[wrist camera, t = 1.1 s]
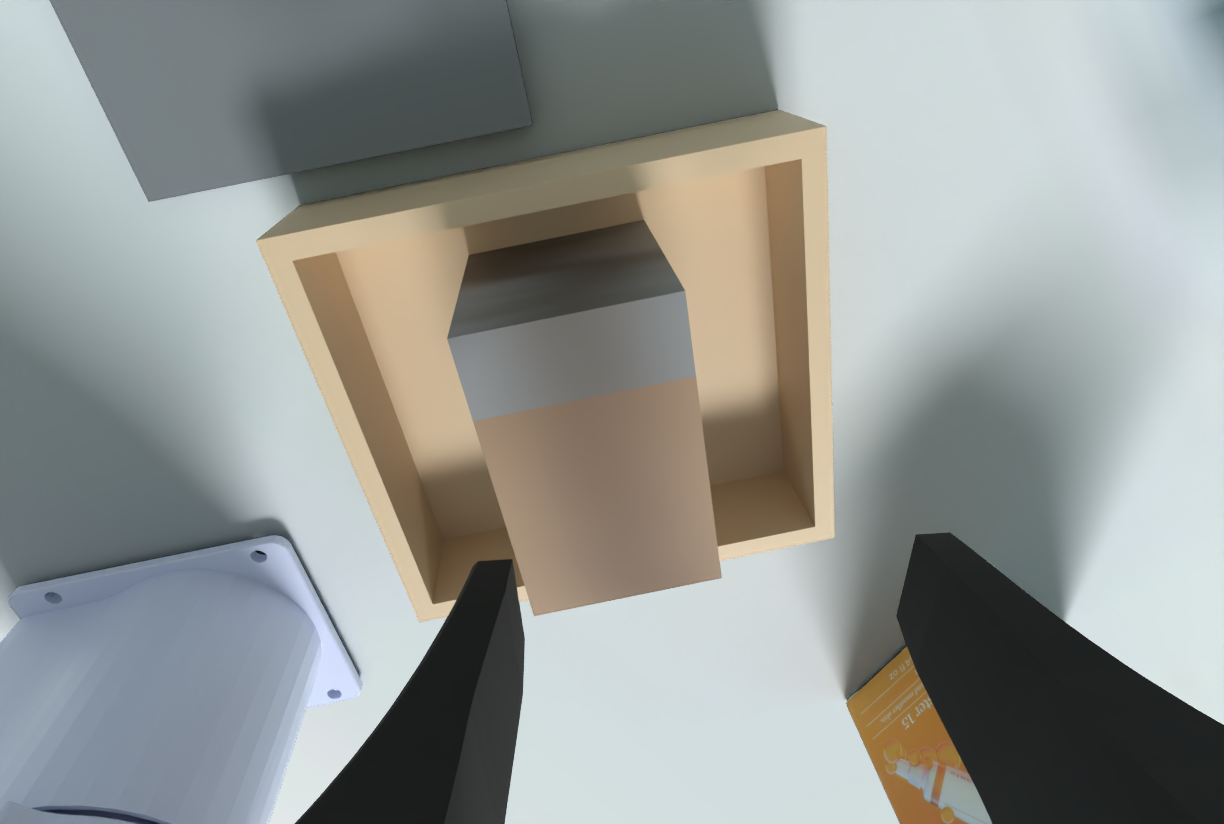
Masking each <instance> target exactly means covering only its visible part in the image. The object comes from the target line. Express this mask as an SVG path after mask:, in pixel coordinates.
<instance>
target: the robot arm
mask: <svg viewBox="0 0 1224 824" xmlns="http://www.w3.org/2000/svg"><path fill="white" fill-rule="evenodd" d="M255 550H257V551H262V552H264V553H265V554H266V555H261V554H258V553H257V552H256V551H255ZM55 593H57V594H59V595H57V594H55ZM8 603H9V605H10V607H11V608H12V609H13V610H14V612H15V613H16V614H17V615H18V617H19V618H20V620H19V622H18V623H17V624H16V625H15V626H14V627H13V629H12V630H11V631H10V632H9V633H8V634H7V636H6V637H5V638H4V639H3V640H2V641H1V643H0V824H269V822H270V819H271V816H272V813H273V810H274V806H275V803H276V800H277V797H278V794H279V791H280V788H281V785H282V782H283V779H284V776H285V773H286V770H287V766H288V763H289V760H290V757H291V754H292V751H293V748H294V745H295V742H296V739H297V736H298V733H299V730H300V726H301V723H302V720H303V717H304V714H305V711H306V708H310V707H315V706H320V705H325V704H330V703H335V702H340V701H344V700H349V699H353V698H356V697H357V696H359V695H360V692H361V689H362V681H361V679H360V677H359V675H358V673H357V671H356V669H355V667H354V665H353V663H352V661H351V659H350V658H349V656H348V654H347V652H346V650H345V648H344V646H343V644H342V642H341V640H340V638H339V636H338V634H337V632H336V630H335V628H334V626H333V625H332V623H331V621H330V619H329V617H328V615H327V613H326V611H325V609H324V607H323V605H322V603H321V601H320V599H319V597H318V595H317V593H316V592H315V590H314V588H313V586H312V584H311V582H310V580H309V578H308V576H307V574H306V572H305V570H304V568H303V566H302V564H301V562H300V560H299V559H298V557H297V555H296V553H295V551H294V549H293V547H292V545H291V543H290V542H289V541H288V540H287V539H285V538H284V537H281V536H277V535H272V536H266V537H261V538H256V539H251V540H246V541H241V542H236V543H231V544H226V545H221V546H217V547H212V548H207V549H202V550H197V551H192V552H187V553H182V554H177V555H172V556H167V557H162V558H157V559H152V560H147V561H142V562H137V563H132V564H128V565H123V566H118V567H113V568H108V569H103V570H98V571H93V572H88V573H83V574H78V575H73V576H68V577H63V578H58V579H53V580H48V581H44V582H39V583H34V584H29V585H24V586H20V587H18V588H16V589H15V590H14V591H13V593H12V594H11V595H10V596H9V597H8ZM897 619H898V622H899V625H900V628H901V630H902V633H903V636H904V639H905V642H906V645H907V648H908V650H909V653H910V656H911V658H912V661H913V664H914V666H915V669H916V671H917V673H918V675H919V677H920V679H921V681H922V683H923V685H924V687H925V689H926V691H927V693H928V695H929V697H930V699H931V701H932V703H933V705H934V707H935V709H936V711H937V713H938V715H939V717H940V719H941V721H942V723H943V725H944V727H945V729H946V731H947V733H948V735H949V737H950V738H951V740H952V742H953V744H954V746H955V748H956V750H957V752H958V754H959V756H960V758H961V760H962V762H963V764H964V766H965V768H966V770H967V772H968V774H969V775H970V777H971V779H972V781H973V783H974V785H975V787H976V789H977V791H978V793H979V795H980V798H981V800H982V802H983V804H984V806H985V808H986V811H987V813H988V815H989V817H990V819H991V822H992V824H1224V725H1223V724H1221V723H1219V722H1217V721H1216V720H1214V719H1212V718H1211V717H1209V716H1207V715H1205V714H1204V713H1202V712H1200V711H1198V710H1197V709H1195V708H1193V707H1192V706H1190V705H1188V704H1187V703H1185V702H1184V701H1182V700H1180V699H1179V698H1177V697H1175V696H1174V695H1172V694H1171V693H1169V692H1167V691H1166V690H1164V689H1162V688H1161V687H1159V686H1158V685H1156V684H1154V683H1153V682H1151V681H1149V680H1148V679H1146V678H1145V677H1143V676H1142V675H1140V674H1139V673H1137V672H1136V671H1134V670H1132V669H1131V668H1129V667H1128V666H1126V665H1125V664H1123V663H1122V662H1121V661H1119V660H1118V659H1116V658H1115V657H1113V656H1112V655H1110V654H1109V653H1108V652H1106V651H1105V650H1103V649H1102V648H1100V647H1099V646H1098V645H1096V644H1095V643H1093V642H1092V641H1090V640H1089V639H1087V638H1086V637H1085V636H1083V635H1082V634H1081V633H1079V632H1078V631H1076V630H1075V629H1074V628H1072V627H1071V626H1070V625H1068V624H1067V623H1065V622H1064V621H1063V620H1061V619H1060V618H1059V617H1057V616H1056V615H1055V614H1053V613H1052V612H1051V611H1049V610H1048V609H1047V608H1046V607H1044V606H1043V605H1042V604H1040V603H1039V602H1038V601H1036V600H1035V599H1034V598H1033V597H1031V596H1030V595H1029V594H1027V593H1026V592H1025V591H1024V590H1022V589H1021V588H1020V587H1018V586H1017V585H1016V584H1015V583H1013V582H1012V581H1011V580H1010V579H1008V578H1007V577H1006V576H1005V575H1003V574H1002V573H1001V572H1000V571H998V570H997V569H996V568H995V567H993V566H992V565H991V564H990V563H988V562H987V561H986V560H984V559H983V558H982V557H981V556H979V555H978V554H977V553H976V552H974V551H973V550H972V549H971V548H969V547H968V546H967V545H966V544H964V543H963V542H962V541H960V540H959V539H958V538H956V537H955V536H954V535H952V534H951V533H936V534H919V535H916V537H915V541H914V545H913V549H912V553H911V557H910V562H909V566H908V570H907V574H906V578H905V582H904V587H903V591H902V595H901V599H900V603H899V607H898V611H897ZM524 642H525V638H524V632H523V625H522V619H521V612H520V605H519V599H518V592H517V586H516V579H515V572H514V566H513V559H504V560H488V561H478V562H477V563H476V564H475V565H473V567H472V569H471V571H470V573H469V576H468V578H467V580H466V582H465V584H464V586H463V588H462V590H461V592H460V594H459V596H458V598H457V600H456V602H455V604H454V606H453V608H452V610H451V611H450V613H449V615H448V617H447V619H446V621H445V623H444V624H443V626H442V628H441V629H440V631H439V633H438V634H437V636H436V638H435V640H434V641H433V643H432V645H431V646H430V648H429V650H428V651H427V653H426V655H425V656H424V658H423V660H422V661H421V663H420V665H419V666H418V668H417V669H416V671H415V672H414V674H413V675H412V677H411V678H410V680H409V681H408V683H407V684H406V686H405V687H404V689H403V690H402V692H401V693H400V695H399V696H398V698H397V699H396V701H395V702H394V704H393V705H392V706H391V708H390V709H389V711H388V712H387V713H386V715H385V716H384V717H383V719H382V720H381V722H380V723H379V724H378V726H377V727H376V728H375V730H374V731H373V732H372V734H371V735H370V736H369V737H368V739H367V740H366V741H365V743H364V744H363V745H362V746H361V748H360V749H359V750H358V752H357V753H356V754H355V755H354V757H353V758H352V759H351V760H350V761H349V763H348V764H347V765H346V766H345V767H344V769H343V770H342V771H341V772H340V773H339V774H338V776H337V777H336V778H335V779H334V780H333V781H332V783H331V784H330V785H329V786H328V787H327V789H326V790H325V791H324V792H323V793H322V794H321V796H320V797H319V798H318V799H317V800H316V801H315V802H314V803H313V804H312V806H311V807H310V808H309V809H308V810H307V811H306V812H305V813H304V814H303V815H302V816H301V818H300V819H299V820H298V821H297V822H296V823H295V824H504V823H505V815H506V808H507V801H508V794H509V788H510V781H511V774H512V767H513V760H514V753H515V746H516V739H517V732H518V725H519V718H520V710H521V703H522V696H523V674H524ZM334 689H336V690H334Z"/></svg>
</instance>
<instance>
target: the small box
mask: <svg viewBox="0 0 1224 824" xmlns="http://www.w3.org/2000/svg"><path fill="white" fill-rule="evenodd" d="M846 704H847V707H848V710H849V712H850V715H851V717H852V719H853V721H854V723H855V726H856V728H857V730H858V732H859V734H860V737H861V739H862V741H863V743H864V745H865V748H866V750H867V752H868V754H869V757H870V759H871V761H872V763H873V765H874V768H875V770H876V772H877V774H878V777H879V779H880V781H881V783H882V786H883V788H884V790H885V792H886V794H887V797H888V799H889V801H890V803H891V806H892V808H893V810H894V812H895V814H896V816H897V819H898V821H899V823H900V824H992V822H991V819H990V817H989V815H988V813H987V811H986V808H985V806H984V804H983V802H982V800H981V798H980V795H979V793H978V791H977V789H976V787H975V785H974V783H973V781H972V779H971V777H970V775H969V774H968V772H967V770H966V768H965V766H964V764H963V762H962V760H961V758H960V756H959V754H958V752H957V750H956V748H955V746H954V744H953V742H952V740H951V738H950V737H949V735H948V733H947V731H946V729H945V727H944V725H943V723H942V721H941V719H940V717H939V715H938V713H937V711H936V709H935V707H934V705H933V703H932V701H931V699H930V697H929V695H928V693H927V691H926V689H925V687H924V685H923V683H922V681H921V679H920V677H919V675H918V673H917V671H916V669H915V666H914V664H913V661H912V658H911V656H910V653H909V650H908V648H907V646H906V647H905V648H904V649H903V650H902V651H901V652H900V653H899V654H898V655H897V656H896V657H895V658H894V659H893V660H891V661H890V662H889V663H888V664H887V665H886V666H885V667H884V668H883V669H882V670H881V671H880V672H879V673H877V674H876V675H875V676H874V677H873V678H872V679H871V680H870V681H869V682H868V683H867V684H866V685H865V686H864V687H862V688H861V689H860V690H859V691H857V692H855V693H854V694H853V695H852V696H851V697H850V698H849V699H848V700H847V702H846Z"/></svg>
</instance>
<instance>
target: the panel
mask: <svg viewBox="0 0 1224 824" xmlns="http://www.w3.org/2000/svg"><path fill="white" fill-rule="evenodd" d="M50 2H51V4H52V6H53V8H54V10H55V12H56V14H57V16H58V18H59V20H60V22H61V24H62V26H63V29H64V31H65V33H66V35H67V37H68V39H69V41H70V43H71V45H72V47H73V49H74V51H75V53H76V55H77V57H78V59H79V61H80V63H81V65H82V67H83V69H84V71H85V73H86V75H87V77H88V79H89V81H90V83H91V85H92V88H93V90H94V92H95V94H96V96H97V98H98V100H99V102H100V104H101V106H102V108H103V110H104V112H105V114H106V116H107V118H108V120H109V122H110V124H111V126H112V128H113V130H114V132H115V134H116V136H117V138H118V140H119V142H120V144H121V147H122V149H123V151H124V153H125V155H126V157H127V159H128V161H129V163H130V165H131V167H132V169H133V171H134V173H135V175H136V177H137V179H138V181H139V183H140V185H141V187H142V189H143V191H144V193H145V195H146V197H147V199H148V201H149V202H150V201H155V200H160V199H165V198H170V197H175V196H180V195H185V194H190V193H195V192H200V191H205V190H210V189H215V188H220V187H225V186H231V185H236V184H241V183H246V182H251V181H256V180H261V179H266V178H271V177H276V176H281V175H286V174H291V173H296V172H301V171H306V170H311V169H316V168H321V167H326V166H331V165H336V164H341V163H346V162H351V161H356V160H361V159H366V158H371V157H376V156H381V155H386V154H391V153H396V152H401V151H406V150H411V149H416V148H421V147H426V146H431V145H436V144H441V143H446V142H451V141H456V140H461V139H466V138H471V137H476V136H481V135H486V134H491V133H496V132H501V131H506V130H511V129H516V128H521V127H526V126H531V125H532V119H531V114H530V109H529V105H528V100H527V95H526V90H525V86H524V81H523V76H522V72H521V67H520V62H519V58H518V53H517V48H516V44H515V39H514V34H513V30H512V25H511V20H510V16H509V11H508V6H507V1H506V0H50Z"/></svg>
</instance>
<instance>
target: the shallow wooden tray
mask: <svg viewBox="0 0 1224 824" xmlns="http://www.w3.org/2000/svg"><path fill="white" fill-rule="evenodd" d="M641 220H645V222H646V224H647V226H648V227H649V229H650V231H651V233H652V234H653V236H654V238H655V239H656V241H657V243H658V245H659V246H660V248H661V250H662V252H663V253H664V255H665V257H666V258H667V260H668V262H669V264H670V265H671V267H672V269H673V271H674V272H675V274H676V276H677V277H678V279H679V281H680V283H681V284H682V286H683V288H684V289H685V293H686V301H687V308H688V316H689V324H690V332H691V340H692V348H693V356H694V364H695V372H696V379H697V387H698V395H699V403H700V411H701V419H702V427H703V435H704V443H705V450H706V458H707V466H708V474H709V482H710V490H711V498H712V506H713V514H714V521H715V529H716V537H717V545H718V553H719V561H723V560H728V559H733V558H738V557H743V556H748V555H753V554H758V553H763V552H768V551H772V550H777V549H782V548H787V547H792V546H797V545H802V544H807V543H812V542H817V541H822V540H827V539H832V538H835V531H834V481H833V430H832V380H831V330H830V280H829V229H828V179H827V129H826V126H824V125H821V124H818V123H816V122H813V121H810V120H807V119H804V118H801V117H798V116H796V115H793V114H790V113H787V112H784V111H781V110H775V111H770V112H765V113H760V114H755V115H750V116H745V117H740V118H735V119H730V120H725V121H720V122H715V123H710V124H705V125H700V126H695V127H690V128H685V129H680V130H675V131H670V132H665V133H660V134H655V135H650V136H645V137H640V138H635V139H630V140H625V141H620V142H615V143H610V144H605V145H600V146H595V147H590V148H585V149H580V150H575V151H570V152H565V153H560V154H555V155H550V156H545V157H540V158H535V159H530V160H525V161H520V162H515V163H510V164H505V165H500V166H495V167H490V168H485V169H480V170H475V171H470V172H465V173H460V174H455V175H450V176H445V177H440V178H435V179H430V180H425V181H420V182H415V183H410V184H405V185H400V186H395V187H390V188H385V189H380V190H375V191H370V192H365V193H360V194H355V195H350V196H345V197H340V198H335V199H330V200H325V201H320V202H315V203H310V204H305V205H300V206H298V207H297V208H296V209H295V210H293V211H292V212H291V213H290V214H288V215H287V216H286V217H285V218H283V219H282V220H281V221H280V222H278V223H277V224H276V225H275V226H273V227H272V228H271V229H270V230H268V231H267V232H266V233H265V234H263V235H262V236H261V237H260V238H258V239H257V240H256V242H257V244H258V247H259V249H260V251H261V254H262V256H263V258H264V261H265V263H266V265H267V268H268V270H269V272H270V275H271V277H272V279H273V282H274V284H275V286H276V289H277V291H278V293H279V296H280V298H281V300H282V303H283V305H284V307H285V310H286V312H287V314H288V317H289V319H290V321H291V324H292V326H293V328H294V331H295V333H296V335H297V338H298V340H299V342H300V345H301V347H302V349H303V352H304V354H305V356H306V359H307V361H308V363H309V366H310V368H311V370H312V373H313V375H314V377H315V380H316V382H317V384H318V387H319V389H320V391H321V394H322V396H323V398H324V401H325V403H326V405H327V408H328V410H329V412H330V415H331V417H332V419H333V422H334V424H335V426H336V429H337V431H338V433H339V436H340V438H341V440H342V443H343V445H344V447H345V450H346V452H347V454H348V457H349V459H350V461H351V464H352V466H353V468H354V471H355V473H356V475H357V478H358V480H359V482H360V485H361V487H362V489H363V492H364V494H365V496H366V499H367V501H368V503H369V506H370V508H371V510H372V513H373V515H374V517H375V520H376V522H377V524H378V527H379V529H380V531H381V534H382V536H383V538H384V541H385V543H386V545H387V548H388V550H389V552H390V555H391V557H392V559H393V562H394V564H395V566H396V569H397V571H398V573H399V576H400V578H401V580H402V583H403V585H404V587H405V590H406V592H407V594H408V597H409V599H410V601H411V604H412V606H413V608H414V611H415V613H416V615H417V618H418V620H419V622H423V621H428V620H433V619H438V618H443V617H448V615H449V613H450V611H451V610H452V608H453V606H454V604H455V602H456V600H457V598H458V596H459V594H460V592H461V590H462V588H463V586H464V584H465V582H466V580H467V578H468V576H469V573H470V571H471V569H472V567H473V565H475V564H476V563H477V562H478V561H488V560H504V559H513V566H514V572H515V579H516V586H517V592H518V599H519V602H521V601H526V600H529V598H528V595H527V592H526V589H525V585H524V582H523V579H522V576H521V573H520V570H519V566H518V563H517V560H516V557H515V554H514V550H513V547H512V544H511V541H510V538H509V535H508V531H507V528H506V525H505V522H504V519H503V515H502V512H501V509H500V506H499V503H498V500H497V496H496V493H495V490H494V487H493V484H492V480H491V477H490V474H489V471H488V468H487V465H486V461H485V458H484V455H483V452H482V449H481V445H480V442H479V439H478V436H477V433H476V430H475V426H474V423H473V420H472V417H471V414H470V410H469V407H468V404H467V401H466V398H465V395H464V391H463V388H462V385H461V382H460V379H459V375H458V372H457V369H456V366H455V363H454V360H453V356H452V353H451V350H450V347H449V344H448V340H447V337H448V333H449V329H450V325H451V321H452V317H453V314H454V310H455V306H456V302H457V298H458V294H459V291H460V287H461V283H462V279H463V275H464V271H465V268H466V264H467V260H468V256H469V255H471V254H476V253H481V252H486V251H491V250H496V249H501V248H506V247H511V246H516V245H521V244H526V243H531V242H536V241H541V240H546V239H551V238H556V237H561V236H566V235H571V234H576V233H581V232H586V231H591V230H596V229H601V228H606V227H611V226H616V225H621V224H626V223H631V222H636V221H641Z"/></svg>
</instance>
